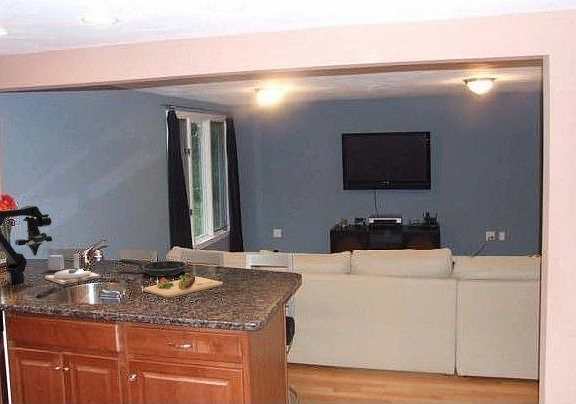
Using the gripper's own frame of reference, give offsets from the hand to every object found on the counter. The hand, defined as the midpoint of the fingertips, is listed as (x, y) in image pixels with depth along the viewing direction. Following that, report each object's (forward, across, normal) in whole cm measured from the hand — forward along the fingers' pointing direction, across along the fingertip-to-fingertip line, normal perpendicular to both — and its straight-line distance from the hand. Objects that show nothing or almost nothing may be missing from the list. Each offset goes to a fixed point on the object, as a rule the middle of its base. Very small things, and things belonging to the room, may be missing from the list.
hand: (35, 255), depth 331 cm
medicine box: (+14, +18, +15) cm, 27 cm away
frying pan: (+14, +52, -40) cm, 67 cm away
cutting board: (+14, +41, -84) cm, 95 cm away
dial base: (+13, +14, -16) cm, 25 cm away
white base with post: (+11, +14, -16) cm, 24 cm away
